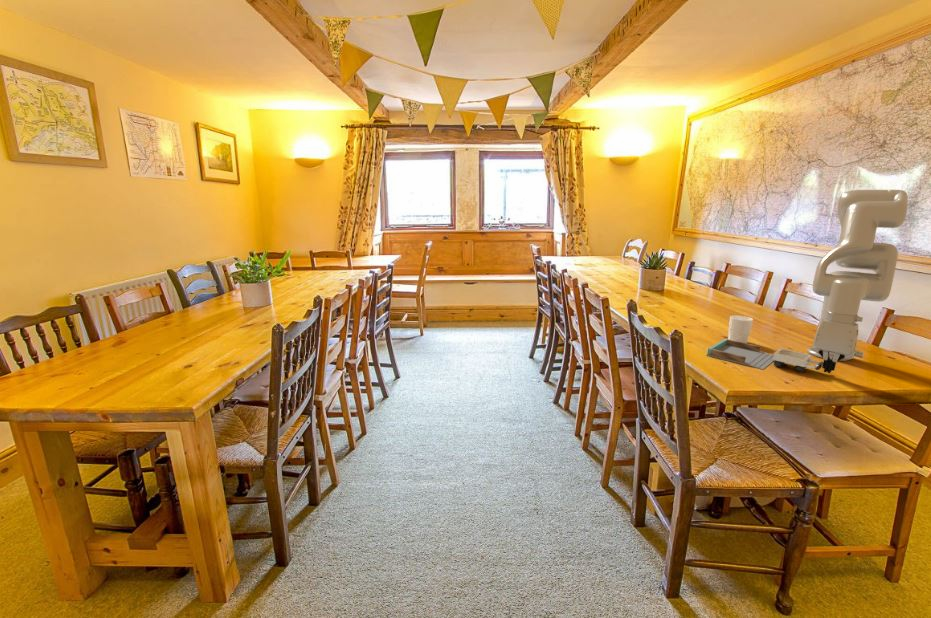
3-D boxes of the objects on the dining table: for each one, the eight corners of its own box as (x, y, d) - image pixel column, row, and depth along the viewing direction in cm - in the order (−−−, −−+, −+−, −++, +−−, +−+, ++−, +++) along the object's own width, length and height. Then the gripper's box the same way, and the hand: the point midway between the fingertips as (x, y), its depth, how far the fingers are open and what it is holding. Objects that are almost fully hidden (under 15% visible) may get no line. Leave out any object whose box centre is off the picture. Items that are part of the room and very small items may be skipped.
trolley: (822, 371, 144) (825, 357, 143) (817, 377, 139) (820, 363, 138) (777, 361, 154) (780, 348, 152) (771, 366, 148) (773, 353, 147)
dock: (778, 356, 158) (779, 350, 157) (763, 369, 146) (764, 362, 145) (724, 344, 171) (725, 338, 170) (706, 355, 158) (707, 348, 158)
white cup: (752, 345, 170) (756, 321, 168) (730, 343, 172) (734, 319, 169) (743, 339, 178) (748, 316, 175) (723, 337, 179) (727, 314, 177)
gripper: (873, 320, 133) (859, 375, 137) (813, 311, 143) (802, 362, 148) (870, 325, 128) (856, 381, 132) (808, 315, 138) (797, 367, 143)
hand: (827, 371), depth 140 cm, fingers closed
